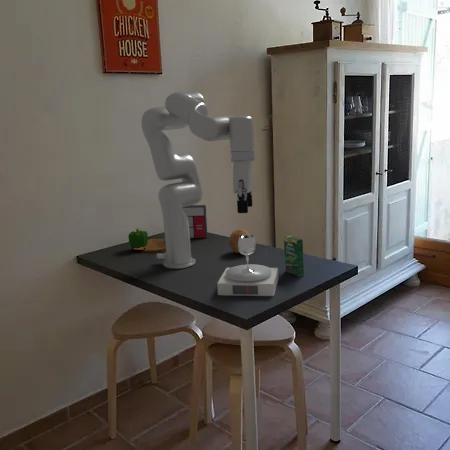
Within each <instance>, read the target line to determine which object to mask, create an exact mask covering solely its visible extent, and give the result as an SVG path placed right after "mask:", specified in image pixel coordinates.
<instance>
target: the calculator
mask: <svg viewBox="0 0 450 450" xmlns="http://www.w3.org/2000/svg"><path fill="white" fill-rule="evenodd" d="M182 209H183V211H184V212H185V214H186V215H187V217H188V222H189V234H190V239H207V238H208V220H207V219H208V218H207V205H206V204H195V205H190V206H186V207H182ZM206 237H207V238H206Z"/></svg>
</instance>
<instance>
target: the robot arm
mask: <svg viewBox="0 0 450 450" xmlns="http://www.w3.org/2000/svg"><path fill="white" fill-rule="evenodd" d="M140 122H141V124H140V125H141V130H142V132H143V133H142V134H143V136H144V138H145V140H146V142H147V145H148V146H149V150H150V154H151V158H152V161H153V165H154V166H153V167H154V170H155V173H156V175H157V177H158V180H161V181H164V182H169V181H175V180H179V179H181V181H179V182H174V183H169V184H166V185H163V186H162V187H161V188H160V190H159V191H158V193H157V194H158V202H159V205H160V209H161V213H162V221H163V222H162V223H163V228H164V229H163V231H164V232H163V233H164V239H165V240H164V242H165V252H164V253H156V259H157V261H158V260H160V261H161V260H163V261H162V265H163V267H164V268H167V269H186V268H189V267H192V266H194V265H195V264H196V259H195V258H194V257H193V256H192V251H191V250H192V248H191V238H190V234H189V222H188V217H187V215H186V214H185V212H184V211H183V209H182V207H186V206H190V205H199V203H200V202H201V201H202V200H203V195H204V194H203V192H204V191H203V186H202V183H201V179H200V176H199V175H200V174H199V172H198V167H197V164H196V161H195V159H194V158H193V156H192V155H190V154H188V153H175V150H174V146H173V143H172V141H171V139H170V138H169V137H168V135H166V134H165V133H164V132H163V131H168V130H179V129H184V128H186V127H188V129H189V130H190V132H191V133H192V134H193V135H194V136H196V137H198V138H199V139H202V140H203V141H207V142H217V141H226V140H229V148H230V149H229V150H230V151H229V152H230V162H231V163H233V168H232V169H233V170H232V171H233V172H232V175H233V177H232V180H233V181H232V185H233V188H232V189H233V194H237V196H236V197H237V198H236V207H237V214H248V212H249V207H250V208H251V207H252V206H253V194H252V189H253V165H252V162H254V161H256V159H255V155H256V154H255V136H254V135H255V134H254V120H253V117H251V116H249V115H238V116H236V115H221V116H220V115H218V116H209V110H208V107H207V105H206V101H205V97H204V96H203V95H202V94H201V93H200V92H198V91H176V92H173V93H170V94H169V95H168V96H167V97H166V98H165V101H164V106H156V107H152V108H148V109H146V110H145V111H144V112H143V114H142V116H141V121H140Z"/></svg>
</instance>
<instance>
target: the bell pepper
mask: <svg viewBox="0 0 450 450" xmlns="http://www.w3.org/2000/svg"><path fill="white" fill-rule="evenodd" d="M135 229H136V231H131V232H130V233H128V236H127V237H128V242H129V245H130V248H131V250H132V249H133V248H140V247H145V246H146V245H147V246H148V241H149V236H148V235H149V234H148V232H147V231H146V230H145V231H144V230H139V228H138V227H137V228H135Z"/></svg>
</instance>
